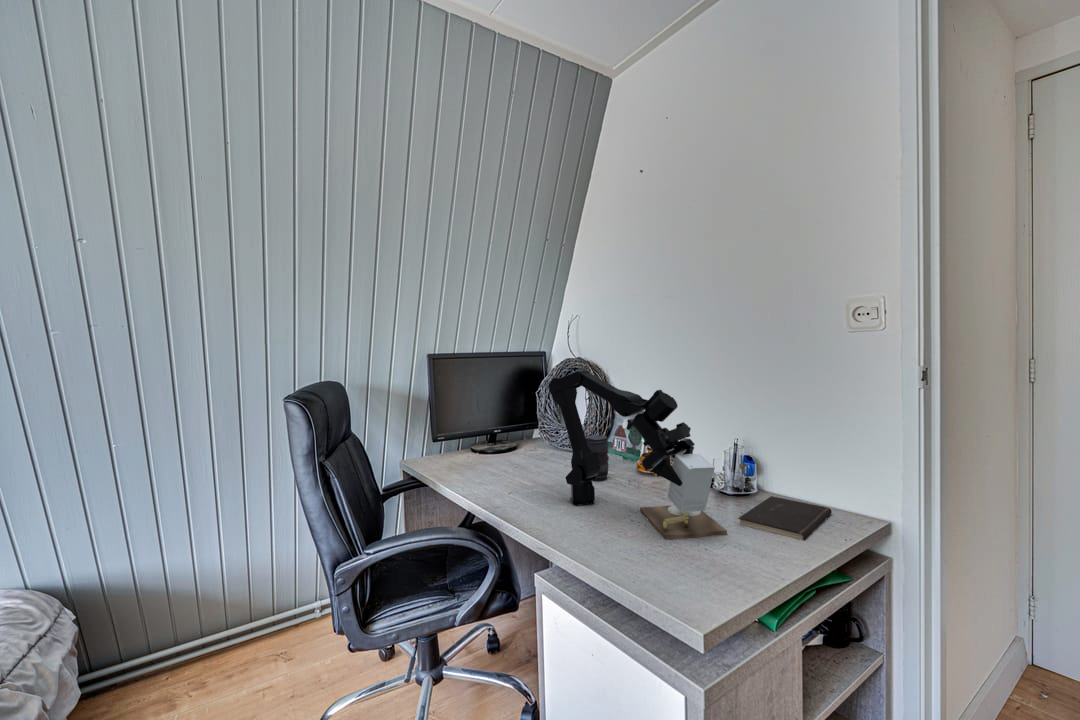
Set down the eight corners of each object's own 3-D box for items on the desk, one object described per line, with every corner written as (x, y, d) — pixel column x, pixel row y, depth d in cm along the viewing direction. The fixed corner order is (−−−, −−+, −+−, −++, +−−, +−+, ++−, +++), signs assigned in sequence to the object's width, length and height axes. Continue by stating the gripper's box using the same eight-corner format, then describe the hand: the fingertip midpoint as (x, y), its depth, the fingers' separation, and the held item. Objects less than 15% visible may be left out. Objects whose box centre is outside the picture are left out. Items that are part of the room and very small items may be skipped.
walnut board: (664, 539, 122) (664, 534, 122) (639, 511, 141) (639, 506, 141) (727, 534, 123) (726, 529, 123) (693, 507, 143) (693, 503, 143)
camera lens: (595, 474, 180) (594, 433, 180) (613, 478, 175) (612, 436, 174) (581, 479, 175) (580, 437, 174) (599, 483, 169) (598, 440, 168)
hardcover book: (738, 526, 130) (738, 517, 129) (771, 503, 146) (771, 495, 146) (803, 543, 118) (803, 533, 118) (831, 516, 134) (831, 508, 134)
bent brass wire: (677, 535, 121) (676, 523, 121) (662, 531, 124) (662, 519, 124) (698, 521, 130) (698, 509, 130) (684, 517, 133) (683, 506, 132)
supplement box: (706, 511, 124) (716, 467, 120) (679, 513, 123) (688, 468, 119) (691, 494, 131) (700, 452, 127) (666, 495, 130) (674, 453, 126)
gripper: (651, 418, 121) (693, 470, 114) (687, 409, 135) (727, 455, 128) (625, 445, 127) (663, 496, 120) (662, 433, 141) (698, 478, 134)
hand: (690, 480), depth 125 cm, fingers closed on supplement box, 9 cm apart
